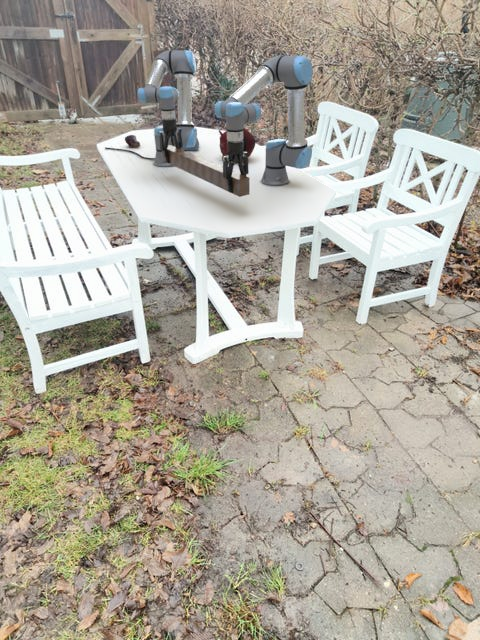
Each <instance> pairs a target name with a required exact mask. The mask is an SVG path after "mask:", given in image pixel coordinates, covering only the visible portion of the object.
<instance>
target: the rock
mask: <svg viewBox="0 0 480 640" xmlns="http://www.w3.org/2000/svg"><path fill="white" fill-rule="evenodd" d="M124 142H125V143H126V144H127V146H128V147H129V148H139V147H141V142H140V141H138V140H137V136H136V135H135V134H129V135H127V136H125V137H124Z"/></svg>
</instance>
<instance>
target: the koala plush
mask: <svg viewBox="0 0 480 640" xmlns="http://www.w3.org/2000/svg"><path fill="white" fill-rule="evenodd" d="M199 148H200V142H199V138H197V140H196V144H195V146H194V147H189V148H184V147H181V150H184V151H191V152H193V151H198V150H199Z"/></svg>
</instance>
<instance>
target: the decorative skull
mask: <svg viewBox="0 0 480 640" xmlns="http://www.w3.org/2000/svg"><path fill="white" fill-rule="evenodd" d="M218 133H219V135H220V136H219V150H220V153H221V155H222V156H226V155H227V153H228V150H227V141H228V140H227V130H225V131H224V132H222V131H221V130H220V129H218ZM243 142H244V149H243V151H244V152H247V153H249V155H248V158H249V157H251V155H252V153H253V152H254V149H255V147H256V142H257V141H256V137H255V136H254V134H252V133H251V132H250V131H249V130H248V129H247V128H245V127H243ZM242 161H243V156H242ZM228 162H229V158H228Z"/></svg>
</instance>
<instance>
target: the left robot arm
mask: <svg viewBox="0 0 480 640" xmlns="http://www.w3.org/2000/svg"><path fill="white" fill-rule="evenodd" d="M168 73H172V74H174V78H176V87H174V86H169V85H167V86H161V85H162V83H163V81H164V77H165V76H166V75H167V74H168ZM195 73H197V62H196V57H195V54H194V52H193V51H192V50H186V49H183V50H182V49H179V50H177V49H175V50H169V49H168V50H164V51H162V52H160V53H158V55H157V56H156V57H155V58H154V59H153V61H152V63H151V71H150V73H149V76H148V78H147V80H146V82H145V85H144V87H139V88H138V89H137V100H138V102H139V103H141V104H159V105H160V113H161V114H160V115H161V123H162V125H159V126H156V127H155V128H154V129H153V133H154V134H153V136H154V145H155V155H154V157H145V156H142V155H141V154H140V153H137V152H136V151H132V150H130V149H129V150H128V149H123V148H114V147H106V146H105V147H104V149H105V150H114V151H122V152H129V153H132V154H135V155H136V156H139V157H140V158H141V159H145V160H151V161H153V160H154V165H155V166H157V167H163V168H164V167H165V168H167V167H168V168H169V167H174V166H173V165H171V164H169V153H168V151H167V148H168V145H172V146H174V147H176V148H179V149H181V147H184V148H189V147H194V146H195V144H196V140H197V139H198V129H197V128H196V127H195V124H194V123H193V116H192V113H193V112H192V111H193V110H192V79H193V78H194V74H195ZM176 102H177V119H176V106H175V103H176ZM162 151H164V157H166V162H165V161H163V155H162Z"/></svg>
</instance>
